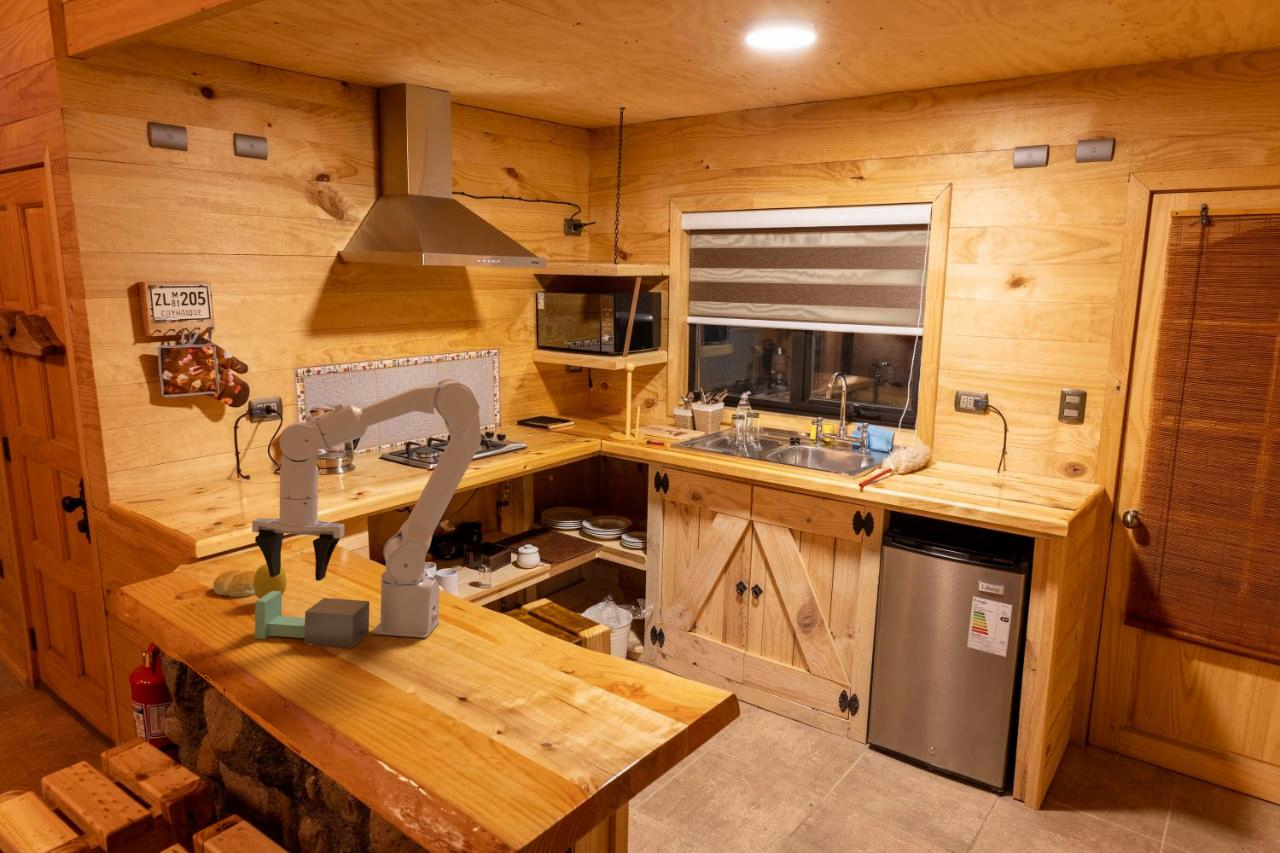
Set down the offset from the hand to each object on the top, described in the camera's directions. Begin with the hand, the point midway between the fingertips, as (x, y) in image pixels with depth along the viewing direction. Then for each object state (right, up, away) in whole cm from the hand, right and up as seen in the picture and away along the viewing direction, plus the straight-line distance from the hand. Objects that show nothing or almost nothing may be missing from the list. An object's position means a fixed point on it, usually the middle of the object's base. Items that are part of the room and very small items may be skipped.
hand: (297, 577), depth 134 cm
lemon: (-12, -8, +15) cm, 21 cm away
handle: (0, -10, +1) cm, 10 cm away
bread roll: (-20, -7, +21) cm, 30 cm away
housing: (+6, -10, +1) cm, 12 cm away
